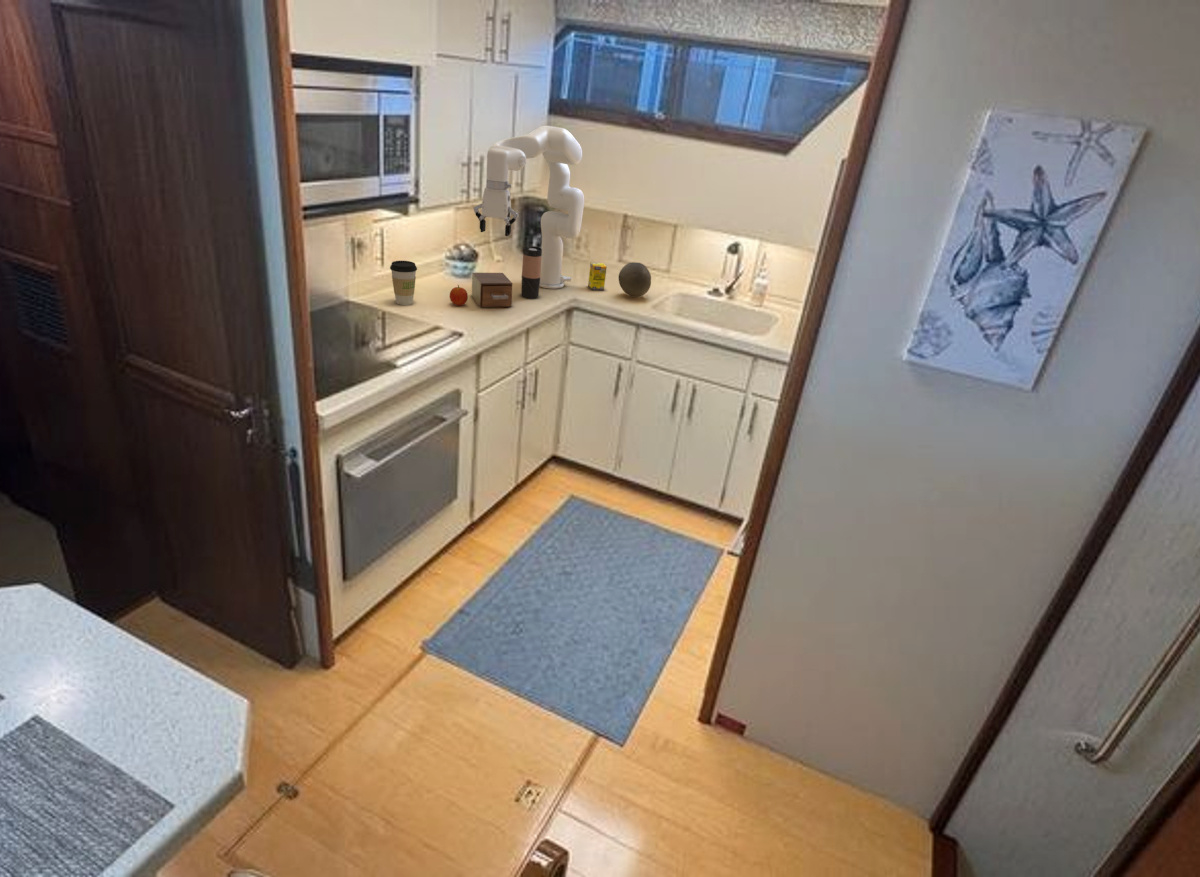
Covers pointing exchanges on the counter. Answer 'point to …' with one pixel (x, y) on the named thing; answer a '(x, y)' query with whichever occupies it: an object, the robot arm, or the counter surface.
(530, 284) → the travel mug
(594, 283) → the supplement box
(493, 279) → the cabinet
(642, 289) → the dark grey ball
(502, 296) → the drawer
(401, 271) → the coffee cup
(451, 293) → the fruit
